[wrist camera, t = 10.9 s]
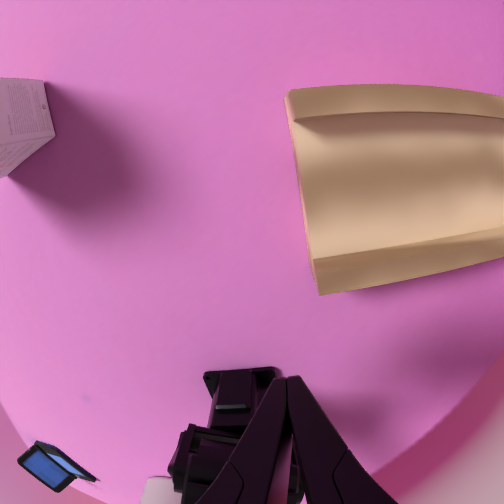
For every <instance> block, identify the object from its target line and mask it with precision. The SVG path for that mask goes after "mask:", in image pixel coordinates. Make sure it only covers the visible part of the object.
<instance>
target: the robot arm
mask: <svg viewBox="0 0 504 504" xmlns="http://www.w3.org/2000/svg"><path fill="white" fill-rule="evenodd" d="M268 372H271V373H268ZM203 379H204V382H205V384H206V386H207V388H208V391H209V393H210V395H211V397H212V399H213V400H212V405H211V410H210V416H209V421H208V426H207V428H205V427H200V426H196V425H195V424H190V423H189V426H188V429H187V431H186V430H185V431H184V432H181V434H180V438H179V442H178V446H177V448H176V451H175V453H174V455H173V457H172V459H171V461H170V463H169V465H168V470H167V471H168V473H169V474H170V476H171V477H172V482H173V483H174V488H173V489H174V492H177V493H181V494H182V498H181V504H300V503H301V501H302V499H303V496H304V492H305V496H306V501H307V504H398V503H397V502H396V501H395V500H394V499H393V498H392V497H391V496H390V495H388V493H386V491H384V490H383V489H382V488H381V487H380V486H379V485H378V484H377V483H376V482H375V481H374V480H373V478H372V477H371V476H370V475H369V474H368V473H367V472H366V471H365V470H364V468H363V467H362V466H361V464H360V463H359V462H358V460H357V459H356V458H355V456H354V455H353V454H352V452H351V451H350V450H349V449H348V447H347V445H346V444H345V442H344V441H343V439H342V438H341V436H340V435H339V433H338V432H337V430H336V429H335V428H334V426H333V425H332V423H331V422H330V420H329V419H328V417H327V416H326V414H325V413H324V411H323V410H322V408H321V407H320V405H319V404H318V402H317V401H316V399H315V398H314V396H313V395H312V393H311V392H310V390H309V389H308V387H307V386H306V384H305V383H304V381H303V380H302V378H301V377H300V376H299V375H296V376H289V377H287V378H286V377H280V378H277V377H276V372H275V369H274V368H272V367H263V368H253V369H241V370H228V371H210V372H205V373H204V375H203ZM292 435H293V437H292Z"/></svg>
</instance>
